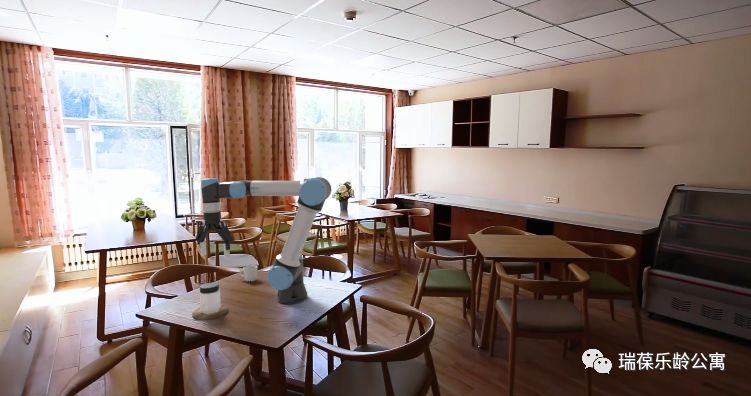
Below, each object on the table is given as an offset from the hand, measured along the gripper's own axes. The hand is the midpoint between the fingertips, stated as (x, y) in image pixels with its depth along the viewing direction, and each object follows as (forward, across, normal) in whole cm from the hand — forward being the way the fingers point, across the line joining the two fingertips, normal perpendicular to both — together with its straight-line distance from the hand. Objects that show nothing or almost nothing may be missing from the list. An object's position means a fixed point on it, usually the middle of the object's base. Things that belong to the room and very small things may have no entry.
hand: (215, 256), depth 182 cm
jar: (+24, -1, +6) cm, 25 cm away
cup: (+26, +14, -40) cm, 50 cm away
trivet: (+25, 0, +6) cm, 26 cm away
